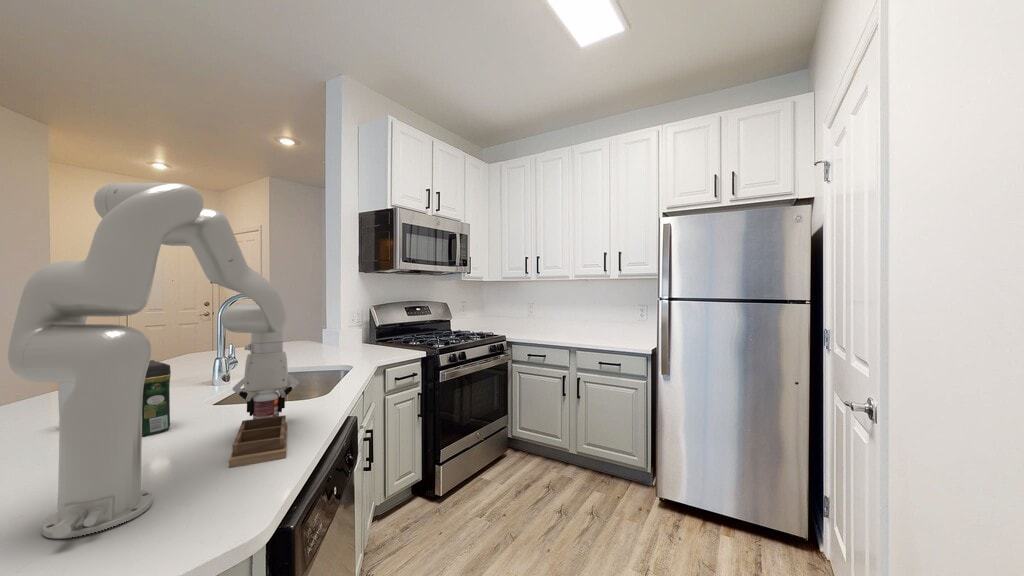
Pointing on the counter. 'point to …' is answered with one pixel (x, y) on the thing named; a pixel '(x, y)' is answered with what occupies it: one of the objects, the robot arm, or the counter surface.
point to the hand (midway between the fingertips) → (266, 412)
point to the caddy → (259, 441)
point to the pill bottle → (265, 404)
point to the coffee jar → (156, 398)
